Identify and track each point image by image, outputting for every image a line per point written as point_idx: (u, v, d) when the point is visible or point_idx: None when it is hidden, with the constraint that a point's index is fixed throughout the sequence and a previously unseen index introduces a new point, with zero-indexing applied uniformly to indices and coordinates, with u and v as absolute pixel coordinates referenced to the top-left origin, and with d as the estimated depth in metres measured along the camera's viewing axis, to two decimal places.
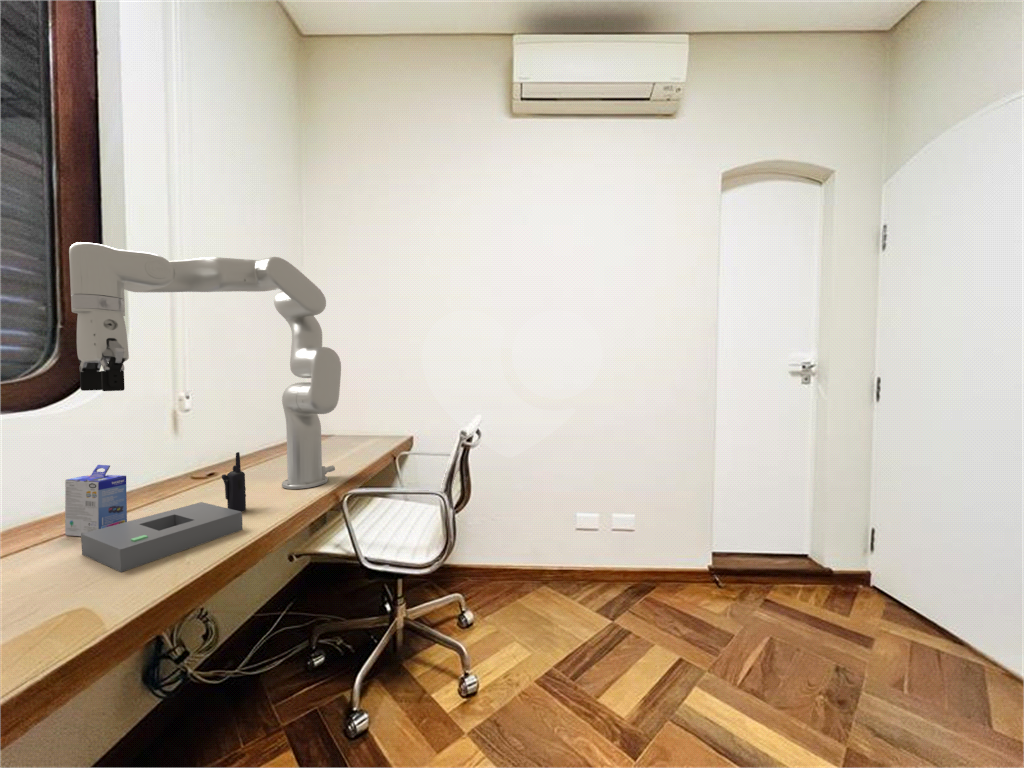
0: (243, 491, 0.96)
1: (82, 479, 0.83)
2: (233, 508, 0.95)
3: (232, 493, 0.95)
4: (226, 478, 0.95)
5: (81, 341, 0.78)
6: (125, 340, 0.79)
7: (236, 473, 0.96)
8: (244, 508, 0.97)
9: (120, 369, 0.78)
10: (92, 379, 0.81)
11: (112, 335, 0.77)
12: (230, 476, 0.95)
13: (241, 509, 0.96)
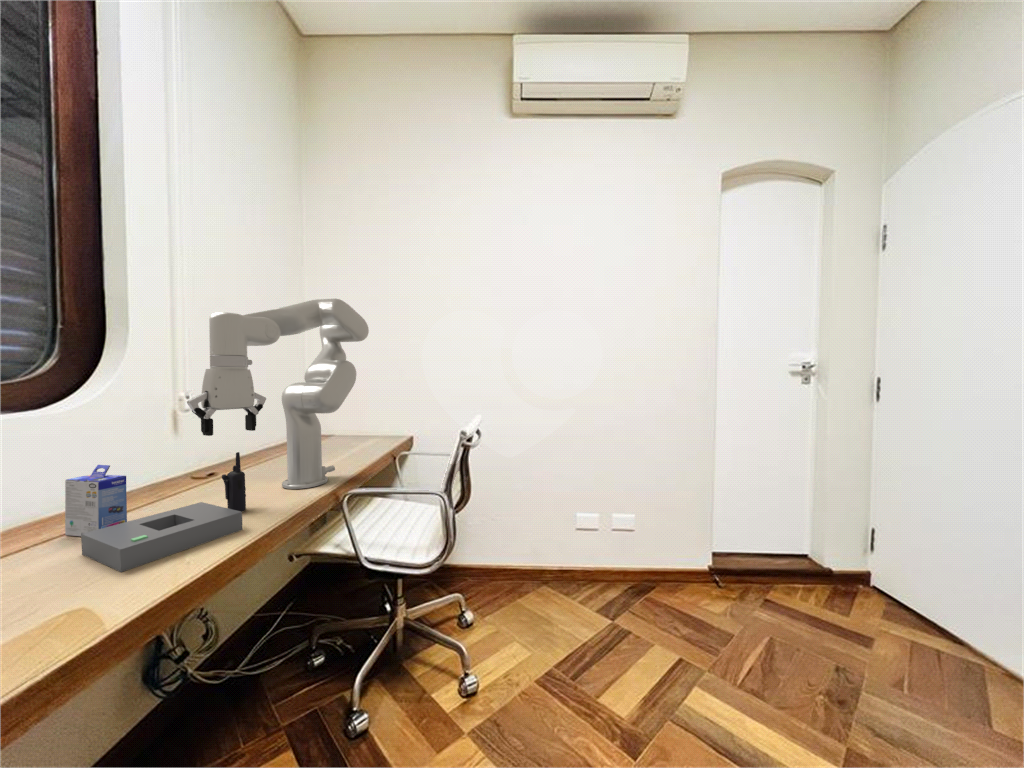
0: (243, 491, 0.96)
1: (82, 479, 0.83)
2: (233, 508, 0.95)
3: (232, 493, 0.95)
4: (226, 478, 0.95)
5: (230, 392, 0.94)
6: None
7: (236, 473, 0.96)
8: (244, 508, 0.97)
9: None
10: None
11: None
12: (230, 476, 0.95)
13: (241, 509, 0.96)
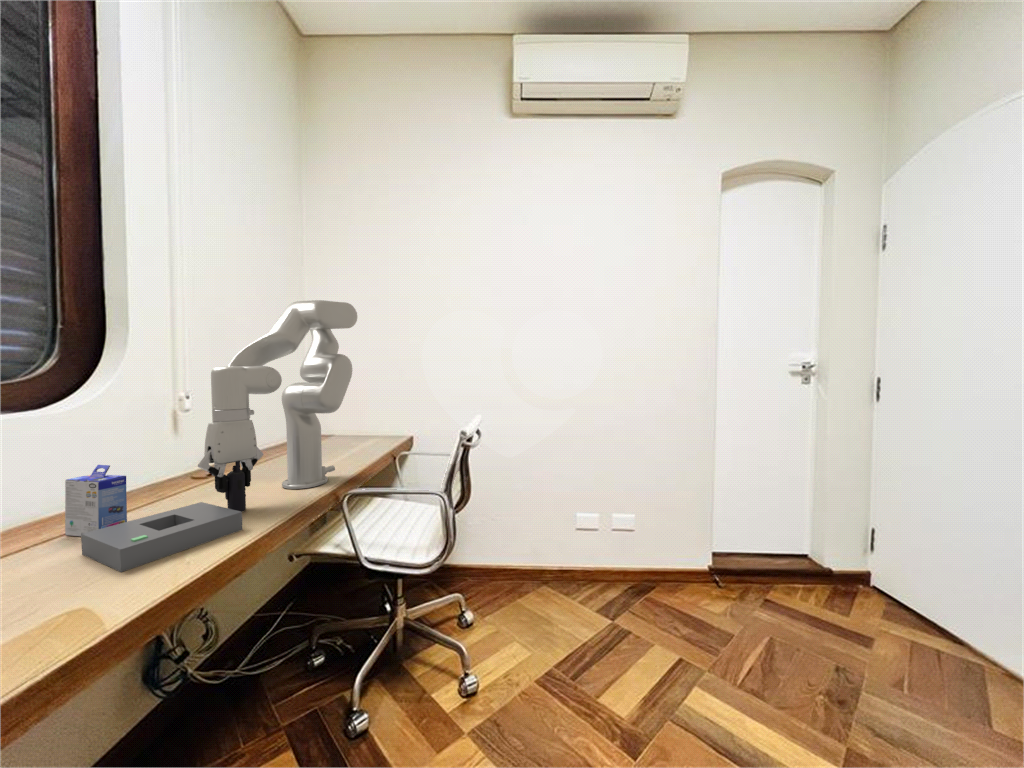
0: (243, 491, 0.96)
1: (82, 479, 0.83)
2: (233, 508, 0.95)
3: (232, 493, 0.95)
4: None
5: (233, 446, 0.95)
6: None
7: (236, 473, 0.96)
8: (244, 508, 0.97)
9: None
10: None
11: None
12: (230, 476, 0.95)
13: (241, 509, 0.96)
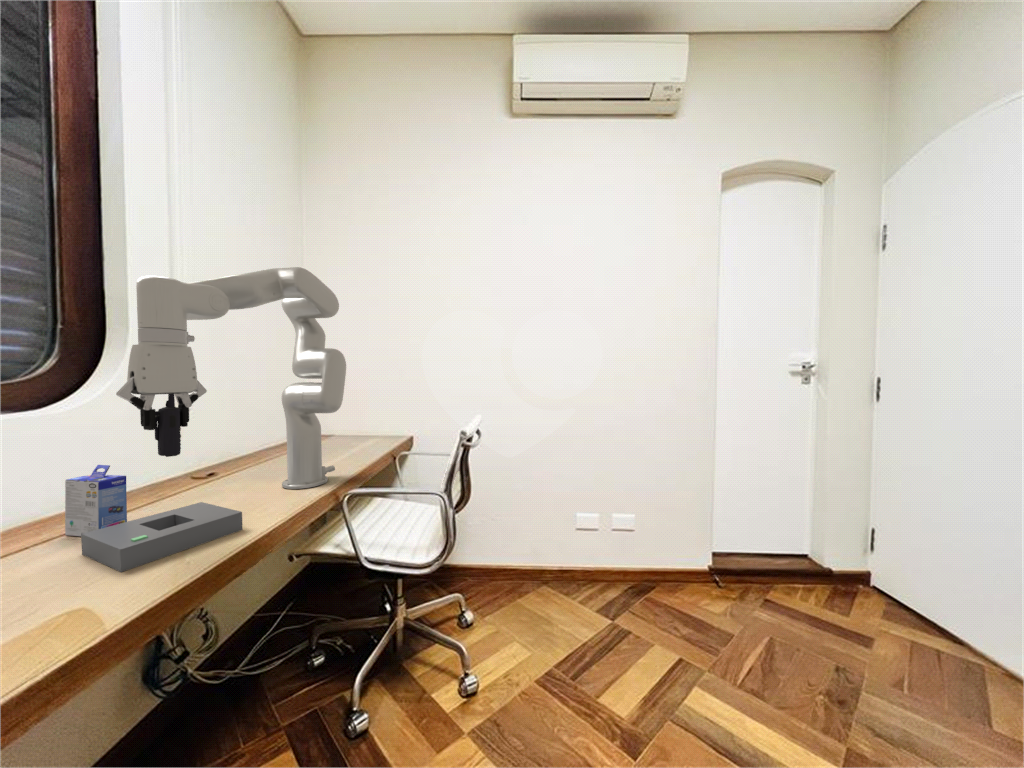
0: (177, 430, 0.79)
1: (82, 479, 0.83)
2: (163, 450, 0.78)
3: (163, 432, 0.78)
4: (155, 413, 0.78)
5: (164, 374, 0.77)
6: None
7: (168, 408, 0.79)
8: (178, 451, 0.80)
9: None
10: None
11: None
12: (160, 411, 0.78)
13: (174, 452, 0.79)
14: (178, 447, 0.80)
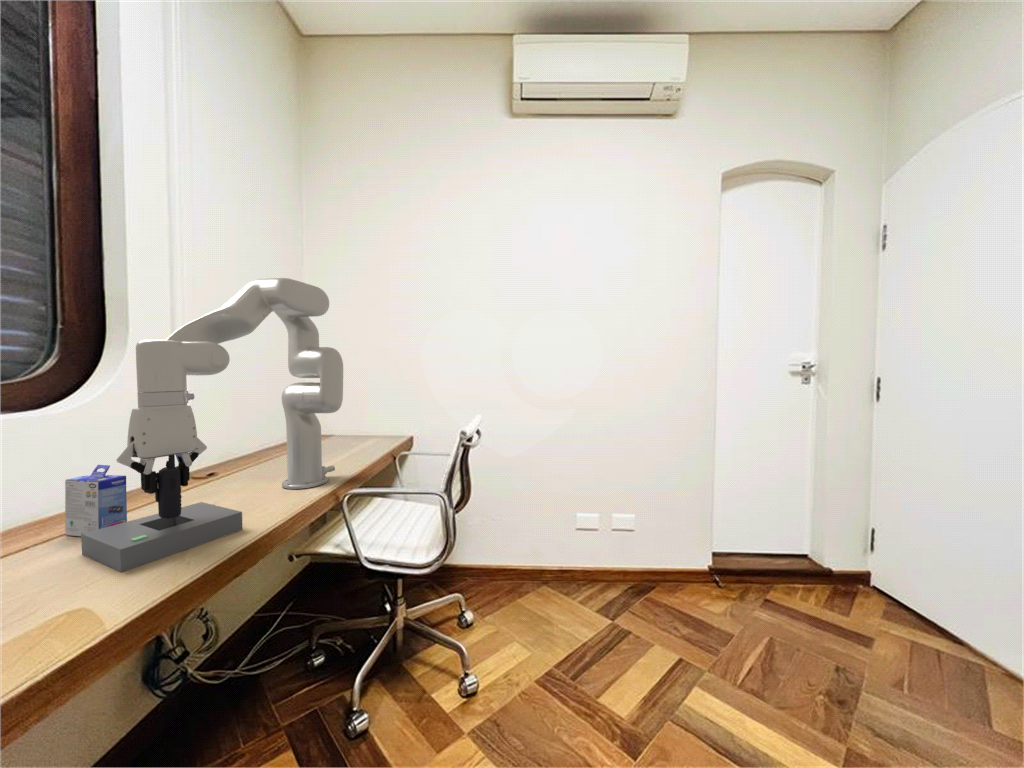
0: (177, 492, 0.79)
1: (82, 479, 0.83)
2: (164, 512, 0.78)
3: (163, 495, 0.78)
4: (156, 476, 0.78)
5: (164, 436, 0.77)
6: None
7: (168, 470, 0.79)
8: (179, 512, 0.80)
9: None
10: None
11: None
12: (161, 473, 0.78)
13: (174, 514, 0.79)
14: (179, 508, 0.80)
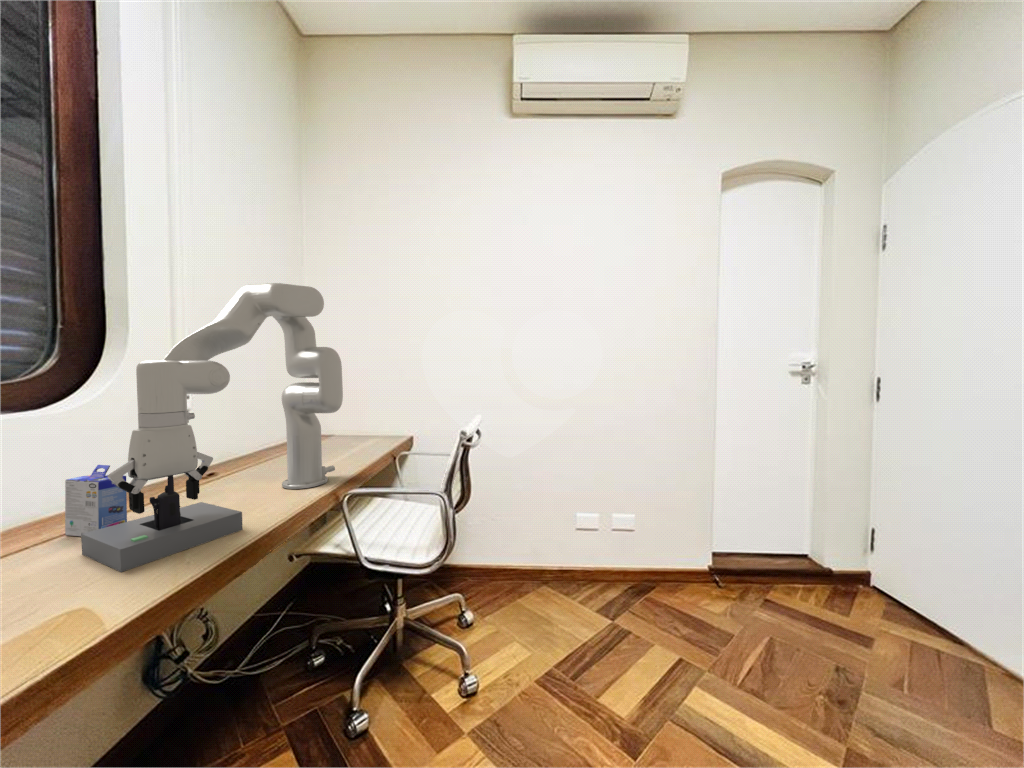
0: (177, 517, 0.79)
1: (82, 479, 0.83)
2: None
3: (163, 520, 0.78)
4: (155, 501, 0.78)
5: (164, 457, 0.77)
6: None
7: (168, 495, 0.78)
8: None
9: None
10: None
11: None
12: (160, 499, 0.78)
13: None
14: None
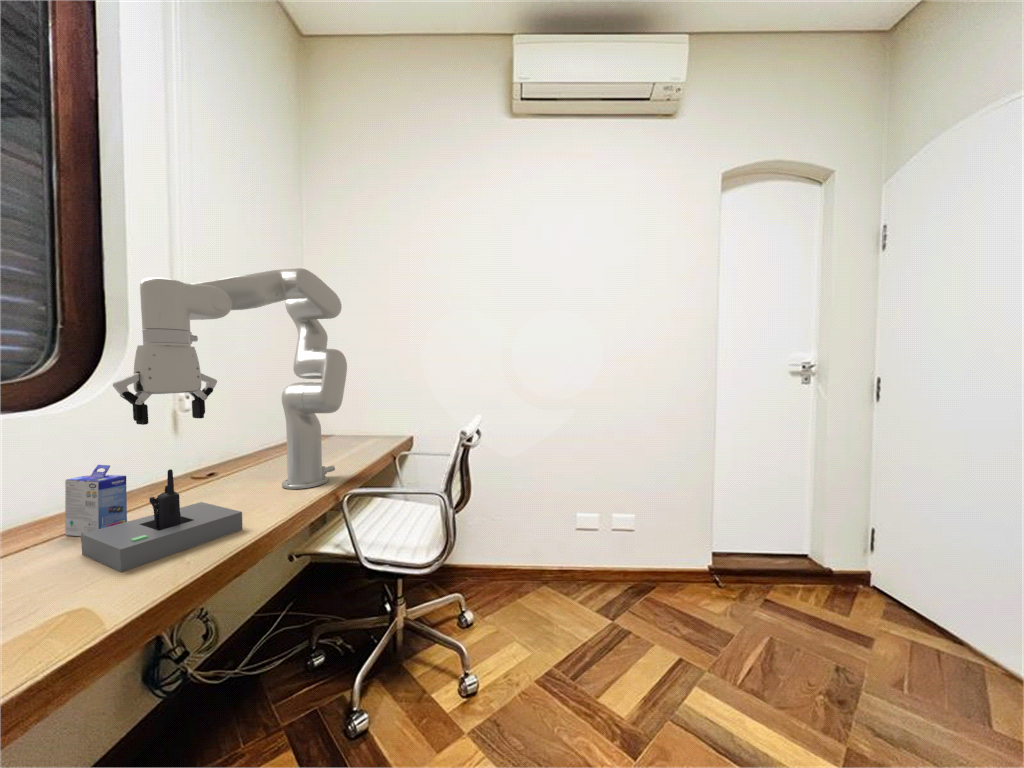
0: (177, 517, 0.79)
1: (82, 479, 0.83)
2: None
3: (163, 520, 0.78)
4: (155, 501, 0.78)
5: (169, 373, 0.79)
6: None
7: (168, 495, 0.78)
8: None
9: None
10: None
11: None
12: (160, 499, 0.78)
13: None
14: None
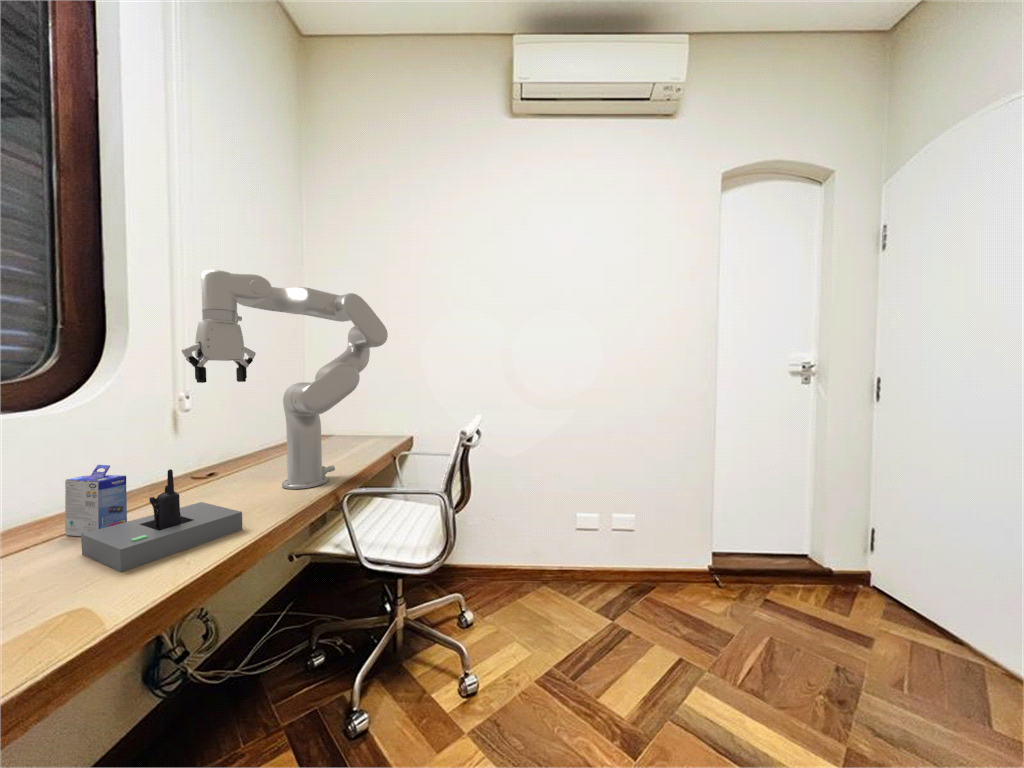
0: (177, 517, 0.79)
1: (82, 479, 0.83)
2: None
3: (163, 520, 0.78)
4: (155, 501, 0.78)
5: (222, 344, 1.02)
6: None
7: (168, 495, 0.78)
8: None
9: None
10: None
11: None
12: (160, 499, 0.78)
13: None
14: None
